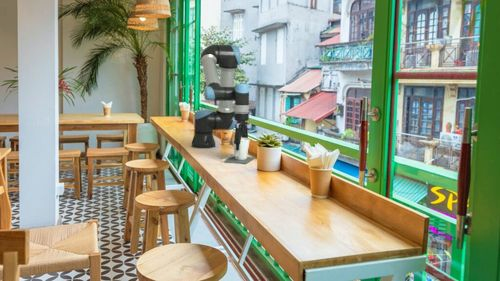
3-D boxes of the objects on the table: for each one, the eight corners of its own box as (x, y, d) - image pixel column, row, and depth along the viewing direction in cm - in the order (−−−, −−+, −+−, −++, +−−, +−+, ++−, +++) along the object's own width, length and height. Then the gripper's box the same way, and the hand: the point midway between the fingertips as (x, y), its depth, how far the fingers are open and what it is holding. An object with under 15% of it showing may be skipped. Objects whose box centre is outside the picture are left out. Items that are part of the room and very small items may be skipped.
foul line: (231, 156, 258) (231, 155, 257) (234, 156, 257) (234, 155, 257) (220, 161, 240) (220, 160, 240) (223, 162, 240) (223, 160, 240)
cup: (251, 157, 250) (251, 137, 248) (249, 161, 240) (249, 140, 238) (233, 157, 251) (233, 137, 249) (230, 160, 241) (230, 140, 239)
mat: (234, 156, 256) (234, 156, 256) (255, 158, 253) (255, 157, 253) (223, 162, 239) (223, 161, 239) (245, 164, 236) (245, 163, 236)
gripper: (242, 114, 230) (241, 158, 233) (254, 111, 252) (253, 151, 255) (228, 114, 233) (227, 157, 236) (241, 111, 254) (240, 151, 257)
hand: (241, 154), depth 245 cm, fingers open, 10 cm apart
